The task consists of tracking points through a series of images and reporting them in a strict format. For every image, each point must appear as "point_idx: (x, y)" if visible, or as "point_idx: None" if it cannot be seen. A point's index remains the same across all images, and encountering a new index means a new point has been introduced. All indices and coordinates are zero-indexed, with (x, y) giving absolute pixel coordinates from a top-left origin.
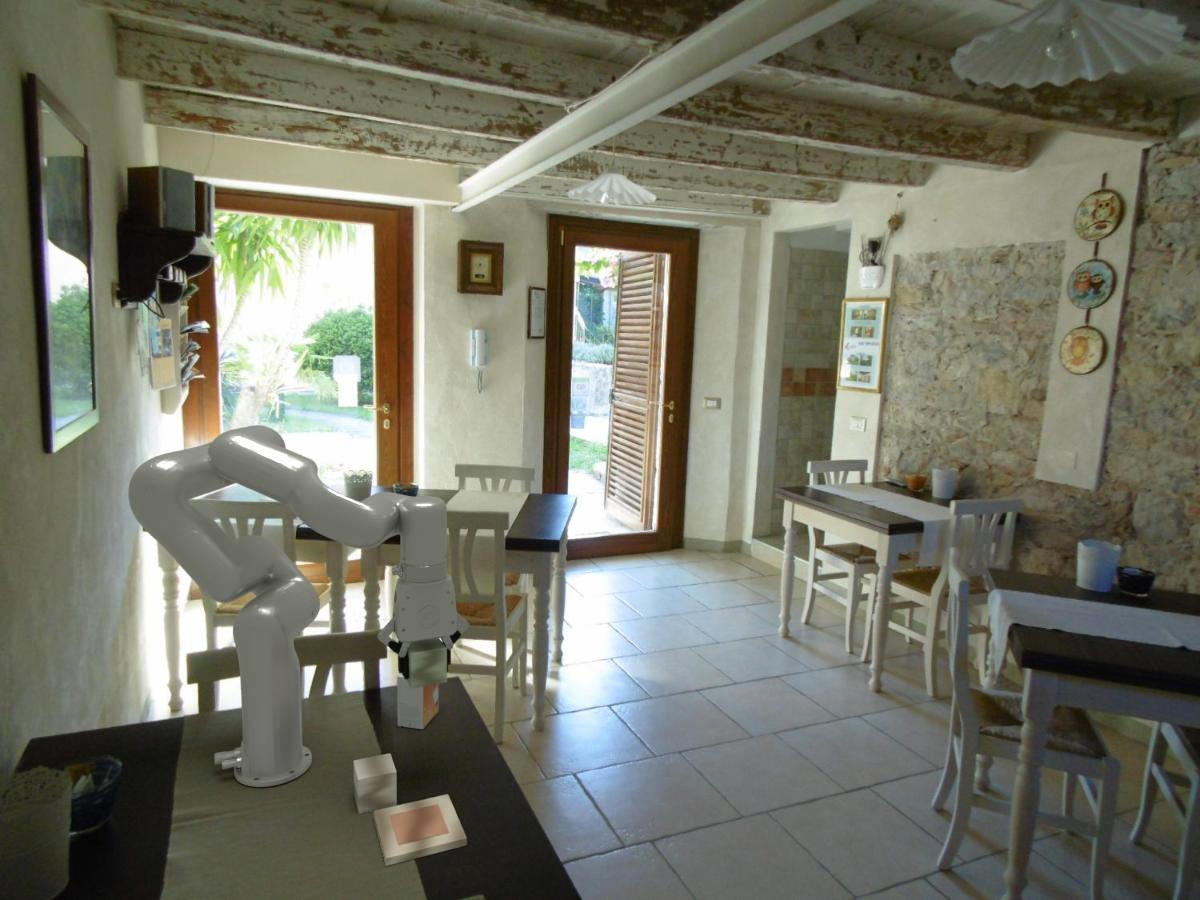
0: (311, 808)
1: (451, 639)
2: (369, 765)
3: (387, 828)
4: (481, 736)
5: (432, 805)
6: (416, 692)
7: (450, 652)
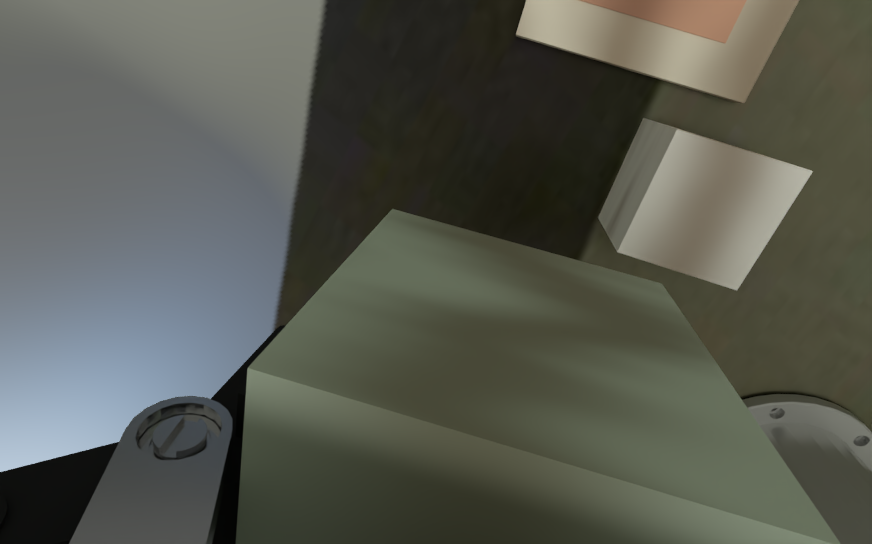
0: (824, 257)
1: (93, 512)
2: (719, 229)
3: None
4: (285, 264)
5: (591, 3)
6: None
7: (225, 388)
